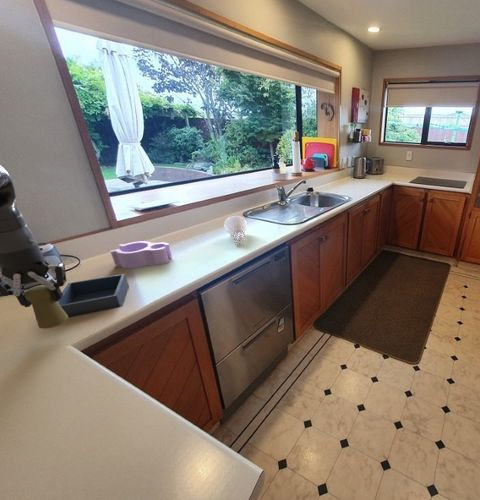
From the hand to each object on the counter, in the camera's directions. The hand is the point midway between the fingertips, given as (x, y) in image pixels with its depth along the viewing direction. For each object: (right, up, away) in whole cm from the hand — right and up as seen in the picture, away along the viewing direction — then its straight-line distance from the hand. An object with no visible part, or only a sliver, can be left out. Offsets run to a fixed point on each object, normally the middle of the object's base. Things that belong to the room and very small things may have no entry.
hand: (43, 302), depth 75 cm
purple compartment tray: (-7, +9, +48) cm, 49 cm away
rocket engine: (+22, +19, +73) cm, 78 cm away
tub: (-4, -4, +20) cm, 21 cm away
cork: (0, -6, +3) cm, 7 cm away
